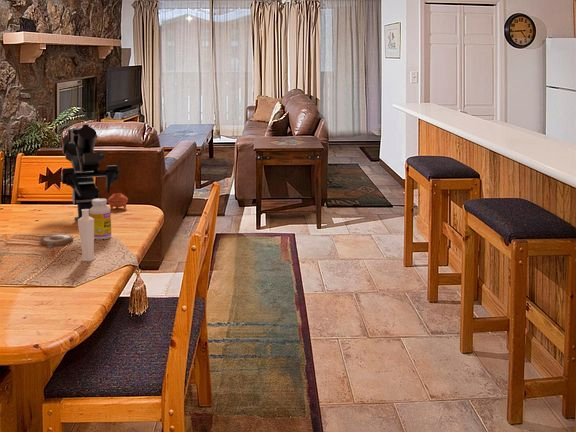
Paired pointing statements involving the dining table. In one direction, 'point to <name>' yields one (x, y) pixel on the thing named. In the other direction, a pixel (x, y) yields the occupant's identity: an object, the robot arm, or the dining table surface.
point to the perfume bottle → (86, 235)
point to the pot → (117, 200)
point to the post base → (56, 240)
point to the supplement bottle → (101, 219)
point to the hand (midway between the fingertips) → (94, 194)
